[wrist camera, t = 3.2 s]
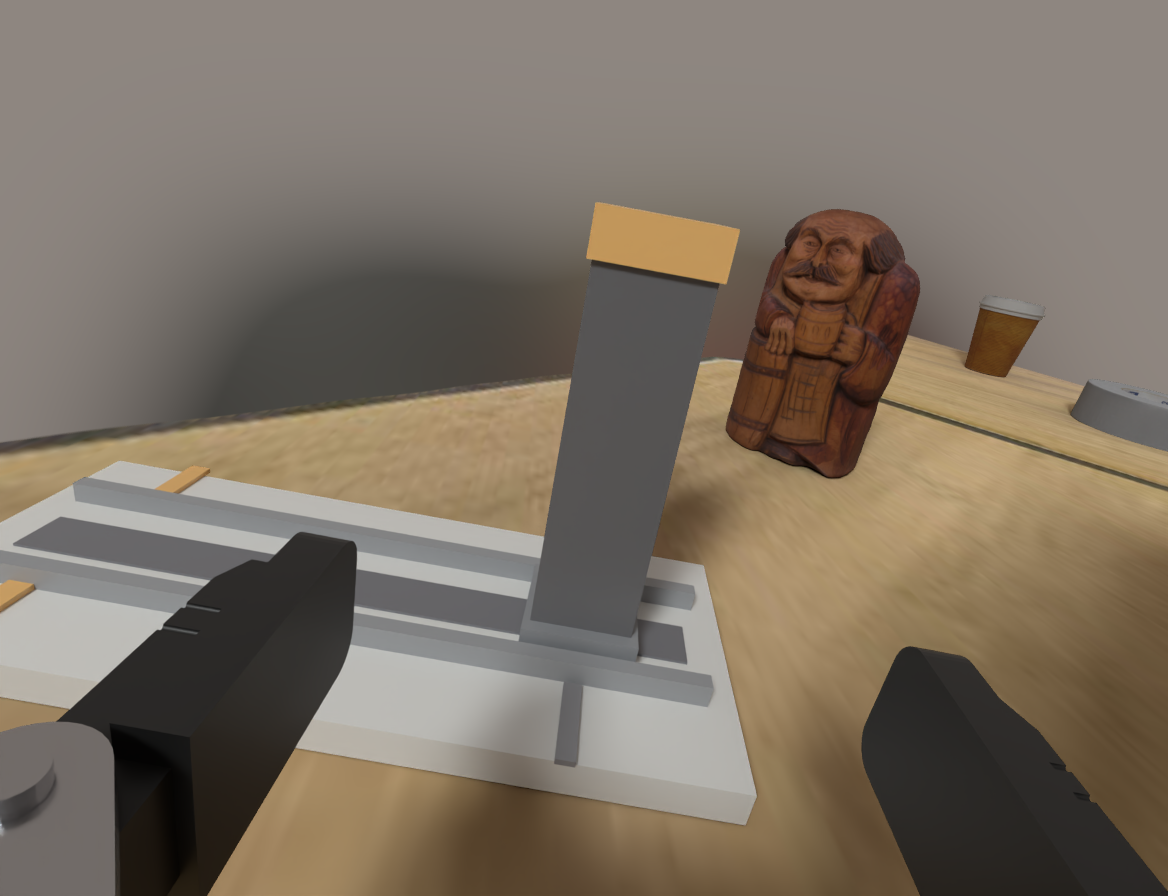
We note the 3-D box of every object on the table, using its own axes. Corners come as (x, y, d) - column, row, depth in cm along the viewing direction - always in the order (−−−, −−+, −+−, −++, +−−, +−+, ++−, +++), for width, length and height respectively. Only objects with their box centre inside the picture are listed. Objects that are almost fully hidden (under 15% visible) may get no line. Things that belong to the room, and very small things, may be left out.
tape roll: (1238, 458, 78) (1262, 420, 76) (1187, 463, 71) (1212, 421, 69) (1102, 413, 90) (1119, 380, 88) (1046, 413, 83) (1064, 377, 81)
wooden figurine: (698, 429, 51) (760, 194, 44) (735, 418, 55) (796, 204, 49) (840, 488, 44) (937, 221, 37) (868, 470, 49) (959, 230, 42)
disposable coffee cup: (1004, 371, 110) (1034, 303, 105) (1025, 384, 101) (1059, 310, 97) (947, 359, 111) (974, 291, 107) (963, 370, 103) (993, 297, 98)
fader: (631, 598, 25) (722, 225, 20) (633, 667, 21) (746, 230, 16) (532, 580, 25) (596, 201, 20) (517, 647, 21) (591, 202, 16)
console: (696, 582, 30) (706, 546, 29) (747, 838, 18) (768, 788, 17) (128, 480, 29) (124, 441, 28) (-210, 673, 17) (-232, 614, 17)
